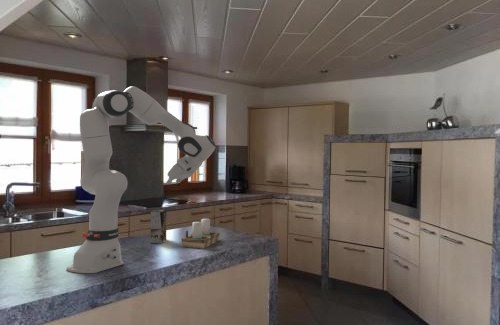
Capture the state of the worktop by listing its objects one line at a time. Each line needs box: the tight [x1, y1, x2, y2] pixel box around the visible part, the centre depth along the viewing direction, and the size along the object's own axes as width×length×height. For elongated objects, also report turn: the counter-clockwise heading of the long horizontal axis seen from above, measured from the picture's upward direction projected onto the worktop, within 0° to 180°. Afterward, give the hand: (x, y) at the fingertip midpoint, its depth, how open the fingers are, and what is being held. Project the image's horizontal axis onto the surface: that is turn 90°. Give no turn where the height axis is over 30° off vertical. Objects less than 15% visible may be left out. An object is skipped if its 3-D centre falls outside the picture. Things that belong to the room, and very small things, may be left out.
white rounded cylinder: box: [191, 221, 202, 240], centre depth 198 cm, size 5×5×9 cm
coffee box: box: [150, 209, 167, 244], centre depth 208 cm, size 9×6×16 cm
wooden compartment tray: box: [181, 230, 221, 250], centre depth 204 cm, size 20×12×7 cm, turn 162°
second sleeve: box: [200, 218, 211, 235], centre depth 208 cm, size 5×5×9 cm
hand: (172, 182), depth 198 cm, fingers open, 8 cm apart
